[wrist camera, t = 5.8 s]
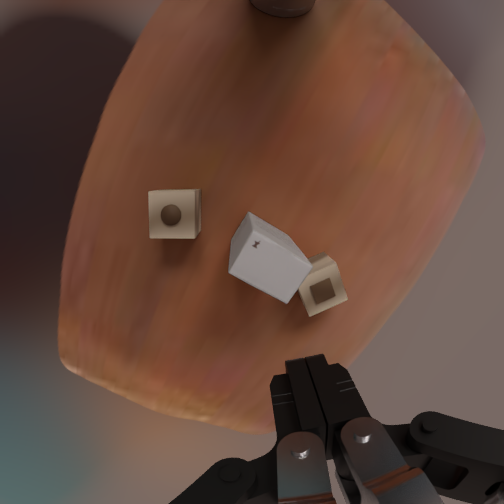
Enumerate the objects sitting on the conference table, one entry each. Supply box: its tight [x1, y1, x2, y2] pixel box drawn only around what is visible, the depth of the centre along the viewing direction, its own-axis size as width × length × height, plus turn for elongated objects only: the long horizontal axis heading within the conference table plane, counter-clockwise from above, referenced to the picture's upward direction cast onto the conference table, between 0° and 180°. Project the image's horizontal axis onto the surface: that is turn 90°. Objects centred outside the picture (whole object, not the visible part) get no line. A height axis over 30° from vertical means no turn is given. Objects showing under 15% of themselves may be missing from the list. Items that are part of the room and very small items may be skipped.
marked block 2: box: [298, 252, 348, 317], centre depth 33 cm, size 5×5×5 cm
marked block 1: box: [148, 189, 201, 239], centre depth 30 cm, size 5×5×5 cm
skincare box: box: [228, 212, 313, 304], centre depth 28 cm, size 6×4×12 cm
